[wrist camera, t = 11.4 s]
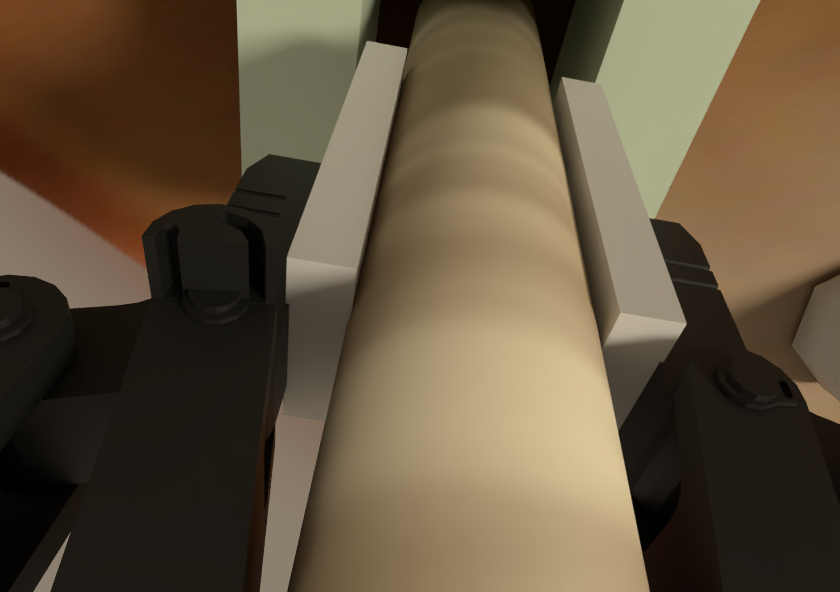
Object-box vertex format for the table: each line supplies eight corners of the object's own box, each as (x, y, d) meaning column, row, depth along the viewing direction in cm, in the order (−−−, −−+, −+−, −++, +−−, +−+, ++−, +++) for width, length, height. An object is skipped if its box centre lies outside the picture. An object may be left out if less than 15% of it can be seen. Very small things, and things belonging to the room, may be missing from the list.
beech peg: (426, -47, 15) (259, 636, 4) (551, -21, 15) (767, 708, 4) (406, 77, 17) (259, 769, 6) (517, 99, 17) (591, 812, 6)
